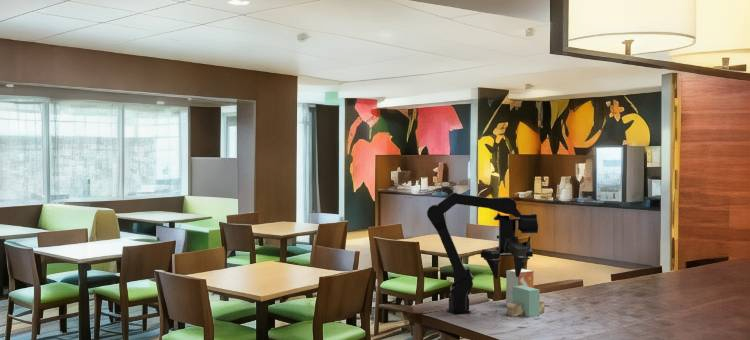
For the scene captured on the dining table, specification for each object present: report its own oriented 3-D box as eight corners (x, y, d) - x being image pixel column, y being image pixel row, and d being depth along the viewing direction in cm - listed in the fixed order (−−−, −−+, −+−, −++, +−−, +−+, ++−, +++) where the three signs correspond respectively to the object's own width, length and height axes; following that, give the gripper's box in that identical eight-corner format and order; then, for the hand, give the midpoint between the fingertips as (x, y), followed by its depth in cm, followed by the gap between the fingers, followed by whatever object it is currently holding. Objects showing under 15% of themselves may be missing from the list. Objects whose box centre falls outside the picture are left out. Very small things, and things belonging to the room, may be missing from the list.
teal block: (529, 317, 222) (529, 290, 222) (512, 311, 230) (512, 286, 230) (539, 315, 224) (539, 289, 224) (522, 310, 232) (522, 285, 232)
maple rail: (512, 316, 223) (512, 304, 223) (506, 314, 225) (506, 303, 225) (544, 312, 229) (544, 301, 229) (538, 311, 231) (538, 299, 231)
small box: (518, 308, 236) (518, 272, 236) (505, 305, 241) (505, 270, 241) (533, 305, 240) (534, 270, 240) (521, 302, 246) (521, 268, 246)
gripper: (499, 236, 216) (499, 283, 216) (543, 234, 224) (543, 279, 224) (479, 233, 226) (479, 278, 226) (522, 231, 234) (522, 274, 234)
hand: (506, 277), depth 227 cm, fingers open, 9 cm apart
